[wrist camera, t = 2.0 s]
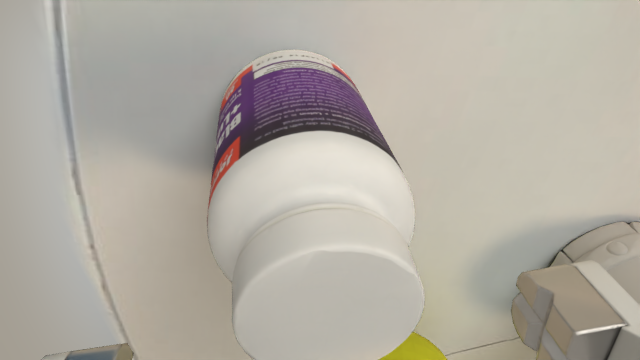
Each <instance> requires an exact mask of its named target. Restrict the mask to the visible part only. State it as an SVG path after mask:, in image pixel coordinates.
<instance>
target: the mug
mask: <svg viewBox="0 0 640 360" xmlns="http://www.w3.org/2000/svg"><path fill="white" fill-rule="evenodd" d="M563 250H564V252H565V253H564V252H561V251H560V252H559V253H558V254H557V256H556V258H555V260H554V261H553V263H552V264H551V266H550V267H553V266H558V265H564V264H566V265H567V264H572V263H577V262H583V261H589V260H593V261H595V262H597V263H599V264H600V265H601V266H602V267H603V268H604V269H605V270H606V271H607V272H608V273H609V274H610V275H611V276H612V277H613V278H614V279H615V280H616V281H617V282H618V283H619V284H620V285H621V286H622V287H623V288H624V290H625V291H626V292H627V293H628V294H629V295H630V296H631V297H632V298H633V299H634V300H635V301H636V302H637V303H638V304H639V305H640V222H631V223H630V224H627V223H625V222H617V223H612V224H609V225H605V226H602V227H599V228H597V229H594V230H592V231H590V232H588V233H586V234H585V235H583V236H581V237H579V238H577V239H576V240H574V241H573V242H571V243H570V244H569V245H567V246H566V247H565V248H564V249H563Z"/></svg>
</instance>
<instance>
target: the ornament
mask: <svg viewBox="0 0 640 360" xmlns="http://www.w3.org/2000/svg"><path fill="white" fill-rule="evenodd" d="M378 360H447V359H446V357H445V356H444V355H443V353H442V352H441V351H440V350H439V349H438V348H437V347H436V346H435V345H434V344H433V343H431V342H430V341H429V340H427V339H426V338H424V337H422V336H420V335H418V334H417V333H415V332H412V333H411V334H410V335H409V337H408V338H407V339H406V340H405V341H404V342H403V343H401V344H400V345H399V346H398V347H397V348H396V349H394V350H393V351H392V352H390V353H389V354H387V355H386V356H384V357H382V358H380V359H378Z"/></svg>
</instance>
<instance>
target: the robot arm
mask: <svg viewBox="0 0 640 360" xmlns="http://www.w3.org/2000/svg"><path fill="white" fill-rule="evenodd" d="M516 286H517V287H518V289H519V290H520V293H519V294H518V295H517V296H516V297H515V298H514V299H513V302H512V308H511V314H512V319H513V324H514V326H515V329H516V331H517V333H518V335H519V337H520V338H521V340H522V342H523V343H524V344H525V345H527V346H528V347H530V348H532V349H533V350H535V351H537V352H536V360H640V305H639V304H638V303H637V302H636V301H635V300H634V299H633V298H632V297H631V296H630V295H629V294H628V293H627V292H626V291H625V290H624V288H623V287H622V286H621V285H620V284H619V283H618V282H617V281H616V280H615V279H614V278H613V277H612V276H611V275H610V274H609V273H608V272H607V271H606V270H605V269H604V268H603V267H602V266H601V265H600V264H599V263H597V262H595V261H593V260H589V261H583V262H577V263H572V264H567V265H566V264H564V265H558V266H553V267H548V268H543V269H537V270H532V271H527V272H522V273H521V274H520V275H519V276H518V279H517V283H516ZM133 354H134V353H133V351H132V350H131V348H130V346H129V345H128V343H124V344H116V345H110V346H103V347H96V348H90V349H83V350H77V351H71V352H64V353H58V354H52V355H46V356H44V357H43V358H42V360H132V358H133Z"/></svg>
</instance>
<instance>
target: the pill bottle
mask: <svg viewBox="0 0 640 360" xmlns="http://www.w3.org/2000/svg"><path fill="white" fill-rule="evenodd" d="M414 226H415V207H414V201H413V196H412V193H411V190H410V187H409V185H408V182H407V180H406V178H405V176H404V174H403V171H402V169H401V167H400V166H399V164H398V162H397V160H396V159H395V157H394V155H393V153H392V151H391V150H390V148H389V146H388V144H387V142H386V140H385V139H384V137H383V135H382V133H381V132H380V130H379V128H378V126H377V124H376V123H375V121H374V119H373V117H372V115H371V113H370V112H369V110H368V108H367V106H366V104H365V102H364V100H363V98H362V96H361V95H360V93H359V91H358V89H357V88H356V86H355V84H354V83H353V82H352V80H351V79H350V77H349V76H348V75H347V74H346V72H345V71H344V70H343V69H342V68H341V67H339V66H338V65H337V64H336V63H334V62H333V61H331V60H330V59H328V58H326V57H324V56H322V55H319V54H316V53H313V52H309V51H304V50H282V51H276V52H272V53H269V54H266V55H264V56H261V57H259V58H257V59H255V60H254V61H252V62H251V63H249V64H248V65H246V66H245V67H244V68H243V69H242V70H241V71H239V73H238V74H237V75H236V76H235V77H234V78H233V80H232V81H231V83H230V84H229V86H228V88H227V90H226V92H225V94H224V97H223V101H222V104H221V108H220V114H219V121H218V130H217V138H216V147H215V156H214V164H213V172H212V181H211V190H210V197H209V206H208V216H207V228H208V238H209V244H210V247H211V250H212V253H213V255H214V258H215V260H216V262H217V264H218V266H219V267H220V269H221V270H222V272H223V273H224V275H225V276H226V277H227V278H228V279H229V280H230V281H231V282H232V323H233V330H234V333H235V336H236V339H237V341H238V343H239V345H240V346H241V347H242V349H243V350H244V351H245V352H246V353H247V354H248V355H249V356H250V357H251V358H253V359H254V360H378V359H380V358H382V357H384V356H386V355H387V354H389V353H390V352H392V351H393V350H394V349H396V348H397V347H398V346H399V345H400V344H401V343H403V342H404V341H405V340H406V339H407V338H408V337H409V335H410V334H411V333H412V332H413V331H414V329H415V327H416V326H417V324H418V322H419V321H420V318H421V316H422V313H423V309H424V302H425V297H424V289H423V285H422V282H421V280H420V277H419V274H418V272H417V269H416V266H415V264H414V261H413V259H412V256H411V253H410V250H409V248H408V247H409V245H410V242H411V240H412V236H413V232H414Z"/></svg>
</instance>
